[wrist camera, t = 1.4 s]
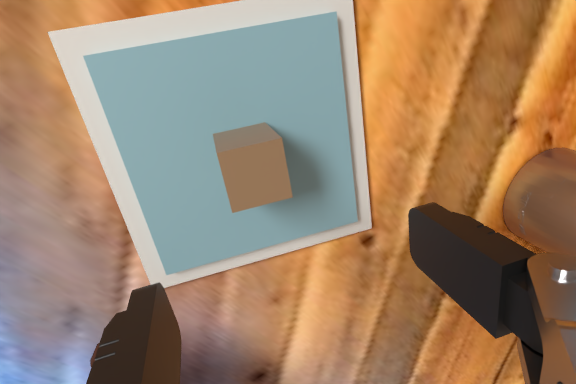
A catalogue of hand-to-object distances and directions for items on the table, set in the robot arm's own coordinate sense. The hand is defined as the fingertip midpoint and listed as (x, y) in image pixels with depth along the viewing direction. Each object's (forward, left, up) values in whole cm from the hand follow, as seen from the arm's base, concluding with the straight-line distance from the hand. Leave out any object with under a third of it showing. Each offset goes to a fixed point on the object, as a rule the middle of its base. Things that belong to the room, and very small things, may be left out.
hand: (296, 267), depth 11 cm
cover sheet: (0, 0, -14) cm, 14 cm away
